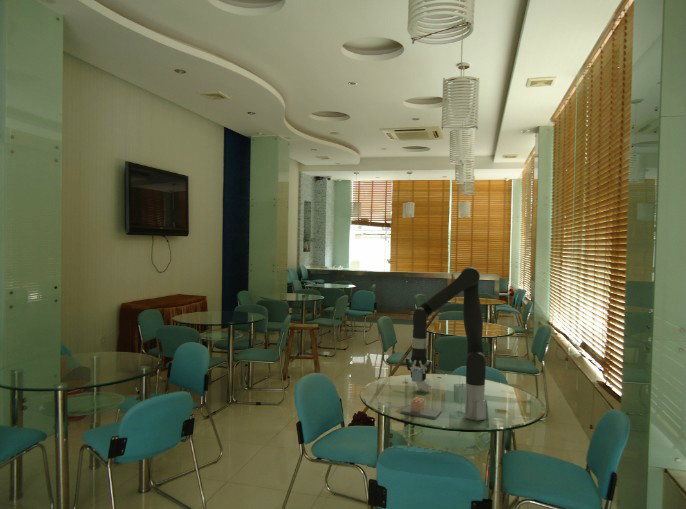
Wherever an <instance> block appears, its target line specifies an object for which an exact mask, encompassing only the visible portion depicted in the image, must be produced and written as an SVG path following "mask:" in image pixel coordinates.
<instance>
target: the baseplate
mask: <svg viewBox="0 0 686 509" xmlns="http://www.w3.org/2000/svg"><path fill="white" fill-rule="evenodd" d="M442 413H443V412H442V410H439V409H434V408H428V407H424V410H423V411H422V412H414V411H411V404H410V405H409V404H408V405H407V406H405V407H404V408H402V410H401V411H400V414H403V415H410V416H414V417H420V418H426V419H430V420H431V419H432V420H436V419H437V418H438V417H439V416H440V415H441V414H442Z"/></svg>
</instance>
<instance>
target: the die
mask: <svg viewBox="0 0 686 509" xmlns="http://www.w3.org/2000/svg"><path fill="white" fill-rule="evenodd" d="M415 384H416V387H417V390H418V392H422V393H428V392H429V390H430V389H432V387H433V385H432V382H431V380H430V378H429V377H426V379H425V380H424V381H423V382H421V383H420V382H415Z"/></svg>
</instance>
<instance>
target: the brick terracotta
mask: <svg viewBox="0 0 686 509" xmlns="http://www.w3.org/2000/svg"><path fill="white" fill-rule="evenodd" d="M410 405H411V411H414V412H422V411H423V410H424V408H425V399H424V398H423V397H420V398H419V397H418V396H417V397H416V396H415V397H414V398H413V399H412V400H411V401H410Z"/></svg>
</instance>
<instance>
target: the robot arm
mask: <svg viewBox="0 0 686 509" xmlns="http://www.w3.org/2000/svg"><path fill="white" fill-rule="evenodd" d="M480 277H481V276H480V272H479V271H478V269H477V268H475V267H472V266H466V267H465V268H463V269H462V270H461V273H460V274H459V275H458V277H456V279H454V280H453V281H452V282H451V283H450V284H448V285H447V286H445V287H443V288H442V289H441V290H439V291H437V292H436V293H435V294H433V295H432V296H431V297H430V298H429V299H427V300H426V301H425V302H424V303H421V304H420V305H419V306H417V307H416V308H415V309H414V310H413V313H412V326H413V327H412V328H413V329H412V341H411V357H407V358H405V363H406V364H405V365H406V368H407V370H408V371H410V378H411V379H412V371H413V370H414V369H416V368H417V367H418V368H420V369H422V371H423V378H422V381H424V380H425V379H426V378H427V374H429V373H430V372H431V369H432V365H433V361H432V360H428V354H427V353H428V352H427V351H428V349H427V348H428V340H427V336H428V334H427V333H428V330H427V329H428V328H427V320H428V317H430V315H432V314H433V313H434V312H436V311H438V310H439V309H441V308H442V307H443V306H445V305H446V304H448V302H450V301H451V300H452V299H453V298H455V297H456V296H457V295H459V294H460V293H461V292H463V303H462V304H463V306H462V310H463V312H462V314H463V315H462V316H463V327H464V331H465V337H466V342H467V343H466V344H467V345H466V347H467V350H466V352H467V353H466V361H465V363H466V366H465V397H464V398H465V399H464V400H465V402H464V405H465V406H464V418H466V419H467V420H472V421H475V422H477V421H482V420H486V413H487V412H486V411H487V410H486V408H487V401H486V399H485V390H486V388H485V387H486V371H487V370H486V369H487V366H486V364H487V363H486V362H487V360H486V355H485V352H484V346H483V330H484V328H483V327H484V321H483V312H482V311H483V309H482V305H481V299H480V295H479V281H480ZM411 362H412V364H411ZM425 364H427V367H426V365H425Z"/></svg>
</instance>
